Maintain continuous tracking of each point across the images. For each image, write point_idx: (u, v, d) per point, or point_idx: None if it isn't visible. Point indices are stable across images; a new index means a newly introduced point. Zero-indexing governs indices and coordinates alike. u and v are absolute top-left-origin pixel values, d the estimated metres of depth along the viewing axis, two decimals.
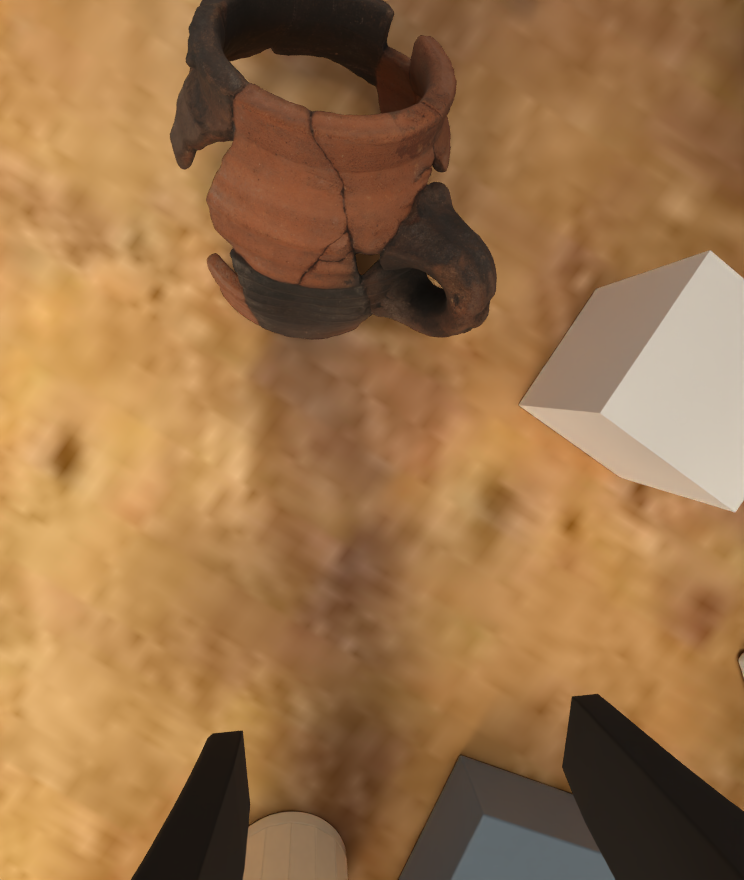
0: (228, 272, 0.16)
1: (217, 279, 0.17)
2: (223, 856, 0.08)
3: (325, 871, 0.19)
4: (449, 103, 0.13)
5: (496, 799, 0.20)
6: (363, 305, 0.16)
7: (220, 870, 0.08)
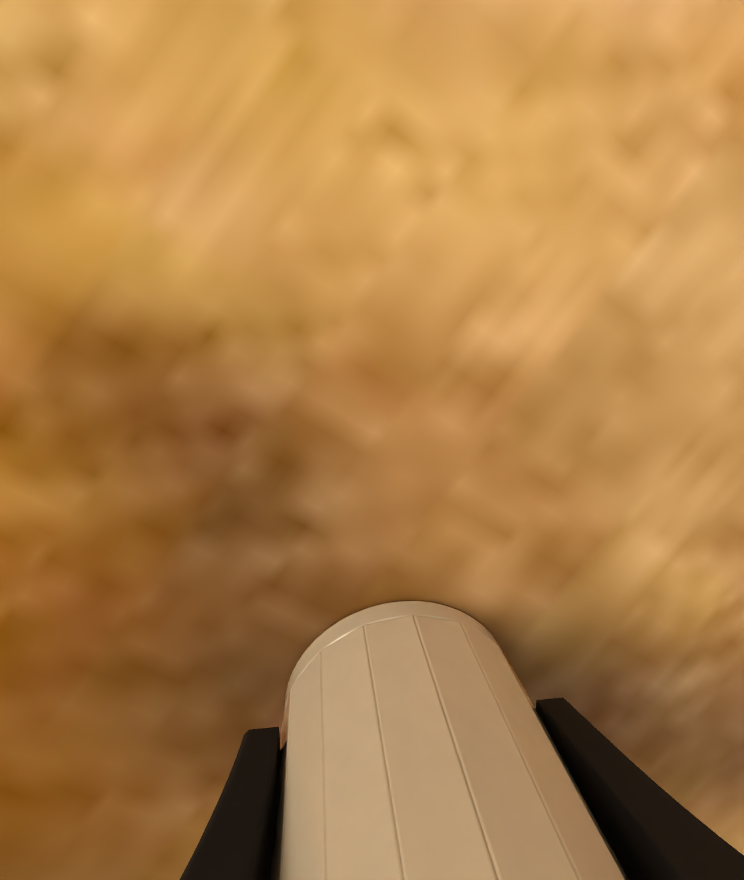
0: None
1: None
2: (267, 850, 0.08)
3: None
4: None
5: None
6: None
7: (265, 864, 0.08)
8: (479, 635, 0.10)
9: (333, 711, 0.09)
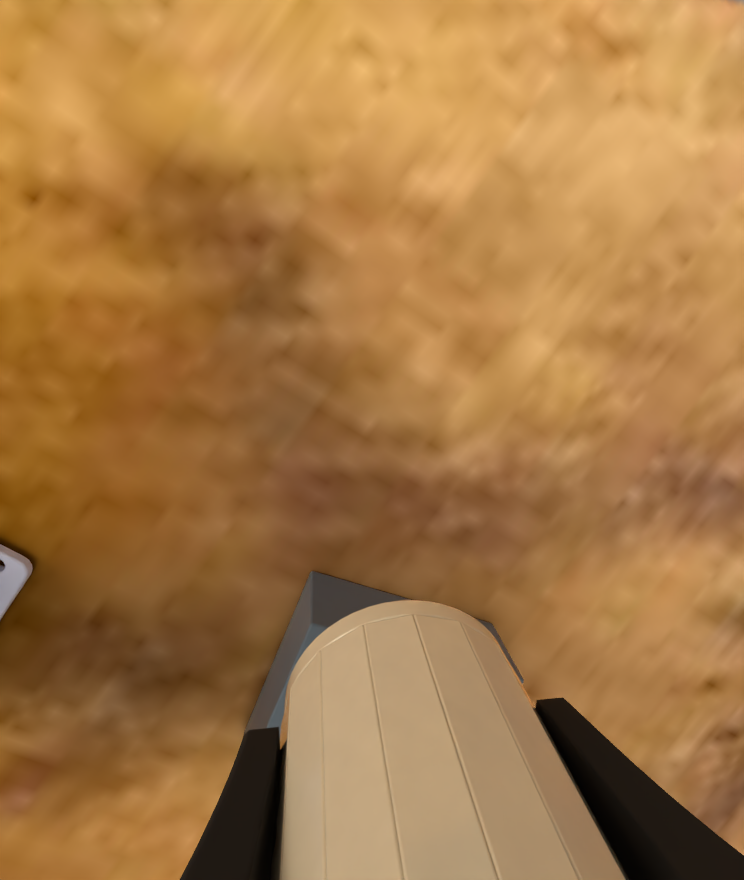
0: None
1: None
2: (267, 850, 0.08)
3: None
4: None
5: None
6: None
7: (265, 864, 0.08)
8: (479, 634, 0.10)
9: (333, 710, 0.09)
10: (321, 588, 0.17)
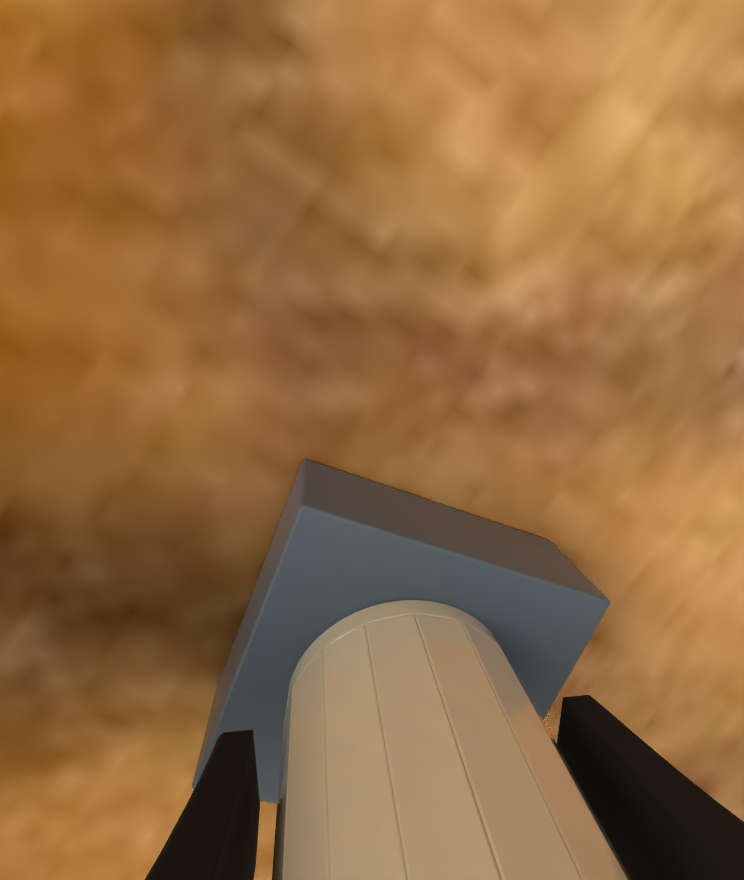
0: None
1: None
2: (236, 854, 0.08)
3: None
4: None
5: None
6: None
7: (233, 868, 0.08)
8: (480, 634, 0.11)
9: (335, 709, 0.09)
10: (317, 475, 0.12)
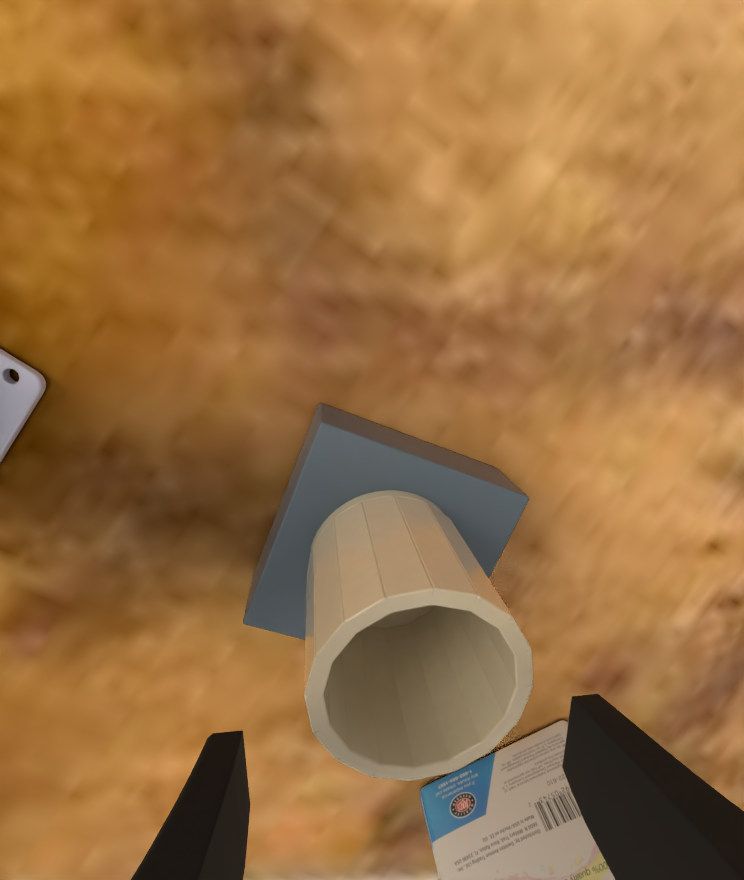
0: None
1: None
2: (223, 856, 0.08)
3: None
4: None
5: None
6: None
7: (220, 870, 0.08)
8: (437, 510, 0.16)
9: (343, 539, 0.14)
10: (329, 411, 0.17)
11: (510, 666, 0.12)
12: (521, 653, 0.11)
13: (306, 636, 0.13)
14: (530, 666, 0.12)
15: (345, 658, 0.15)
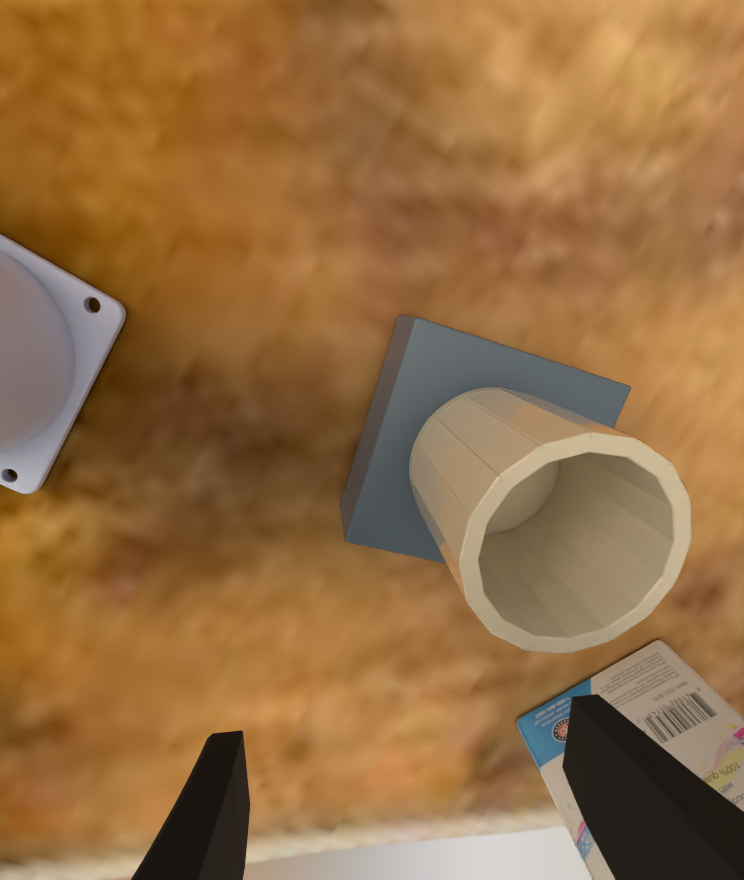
0: None
1: None
2: (223, 856, 0.08)
3: None
4: None
5: None
6: None
7: (220, 870, 0.08)
8: None
9: (458, 426, 0.13)
10: None
11: (665, 524, 0.11)
12: (680, 503, 0.11)
13: (439, 518, 0.12)
14: (689, 517, 0.11)
15: None
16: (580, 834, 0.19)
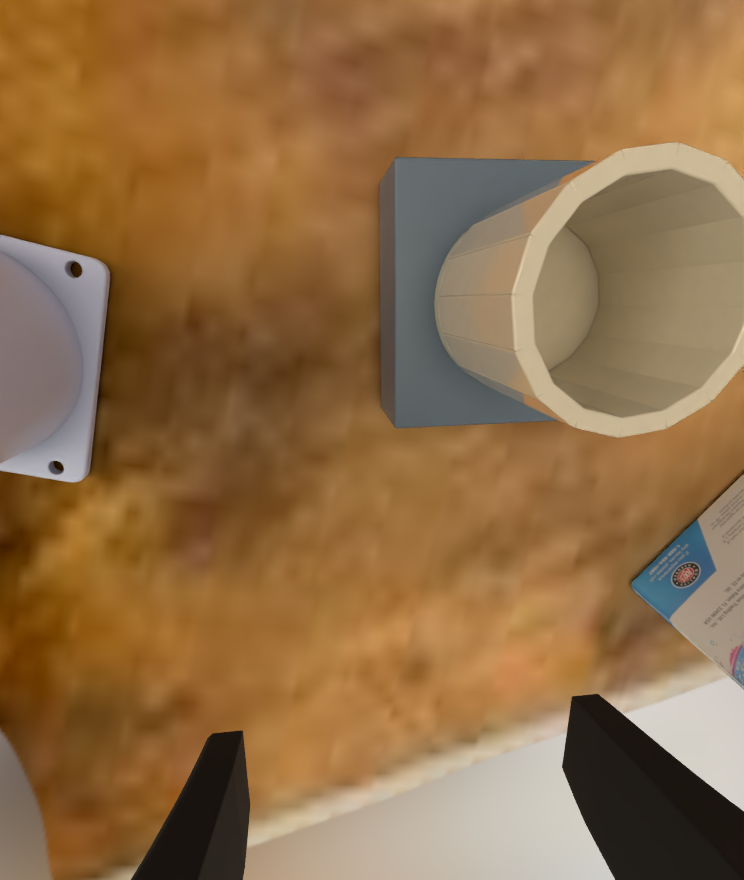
0: None
1: None
2: (223, 856, 0.08)
3: None
4: None
5: None
6: None
7: (220, 870, 0.08)
8: None
9: (473, 244, 0.12)
10: None
11: (738, 245, 0.10)
12: None
13: (481, 335, 0.11)
14: None
15: None
16: (733, 665, 0.17)
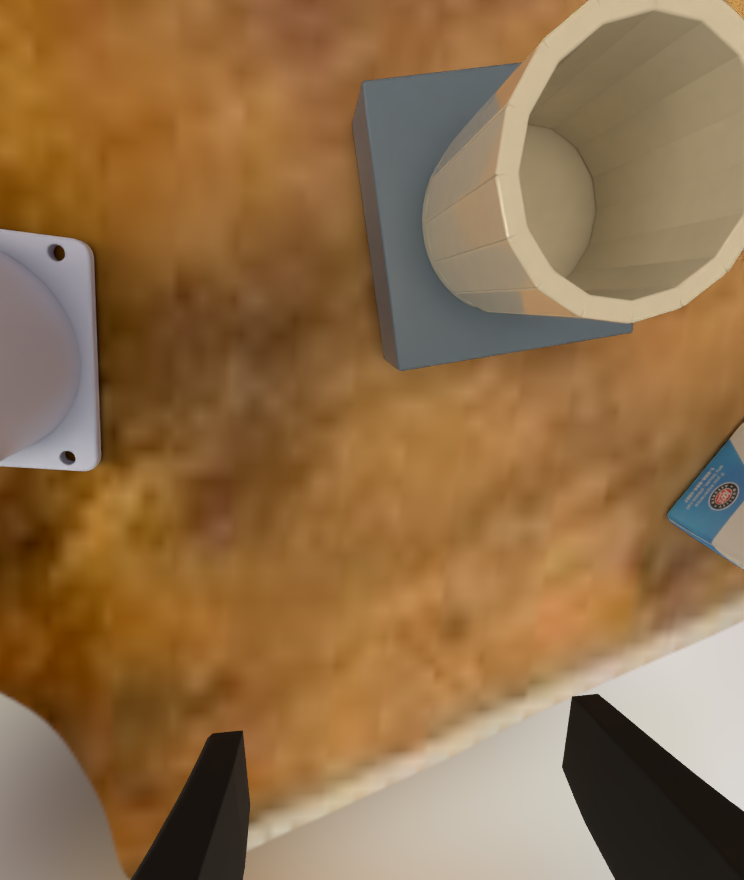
0: None
1: None
2: (223, 856, 0.08)
3: None
4: None
5: None
6: None
7: (220, 870, 0.08)
8: None
9: (453, 152, 0.12)
10: None
11: (738, 92, 0.09)
12: None
13: (471, 241, 0.10)
14: None
15: None
16: None
